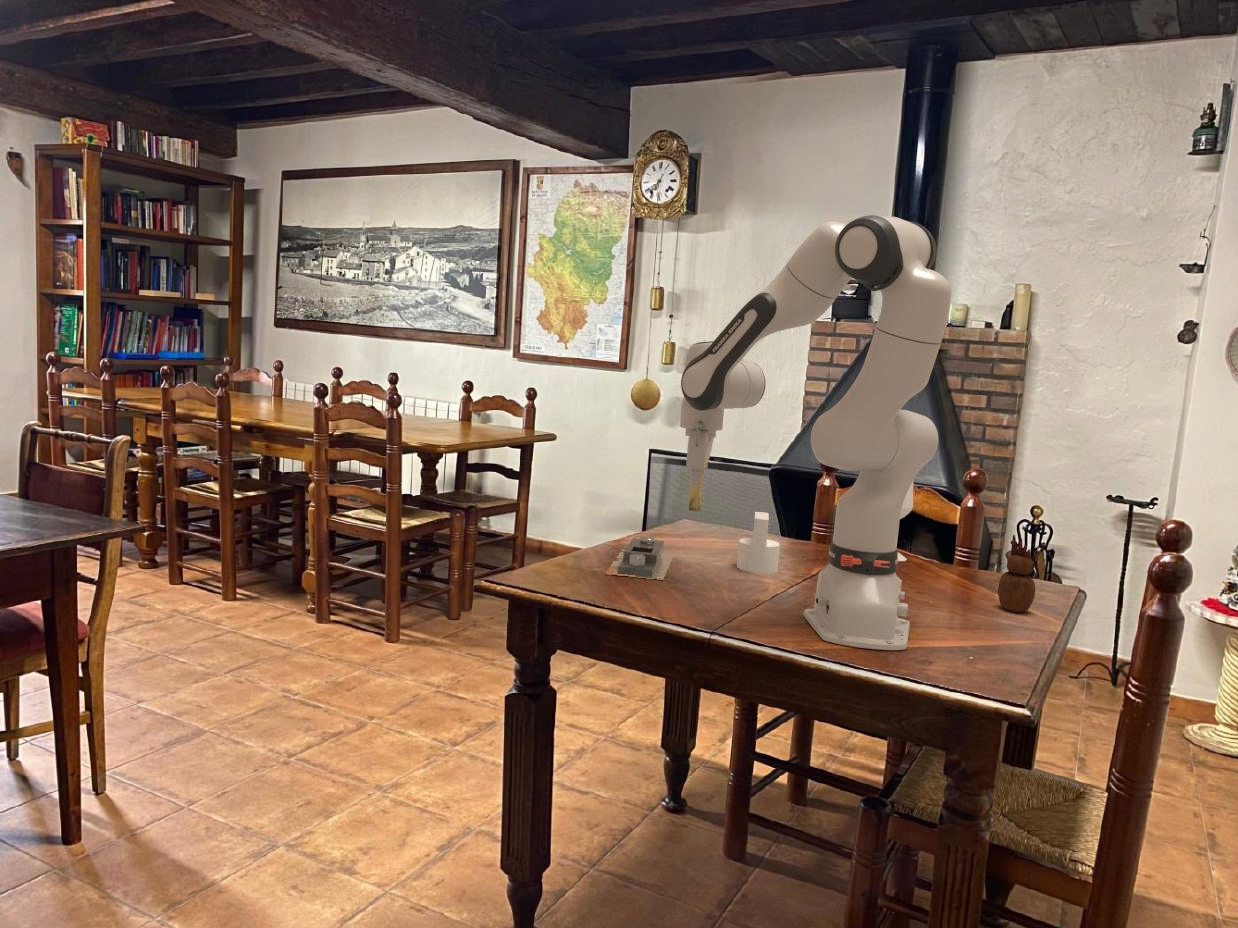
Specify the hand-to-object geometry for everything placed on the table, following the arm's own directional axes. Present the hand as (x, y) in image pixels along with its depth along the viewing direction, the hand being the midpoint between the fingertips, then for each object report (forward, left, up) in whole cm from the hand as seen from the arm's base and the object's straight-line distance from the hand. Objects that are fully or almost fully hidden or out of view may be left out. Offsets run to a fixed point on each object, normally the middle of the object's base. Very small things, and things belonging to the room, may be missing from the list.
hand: (696, 486), depth 187 cm
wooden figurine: (-1, -65, -19) cm, 68 cm away
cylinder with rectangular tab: (+12, -14, -19) cm, 27 cm away
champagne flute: (+38, -47, -19) cm, 64 cm away
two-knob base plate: (+4, +11, -19) cm, 22 cm away
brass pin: (0, 0, -5) cm, 5 cm away
